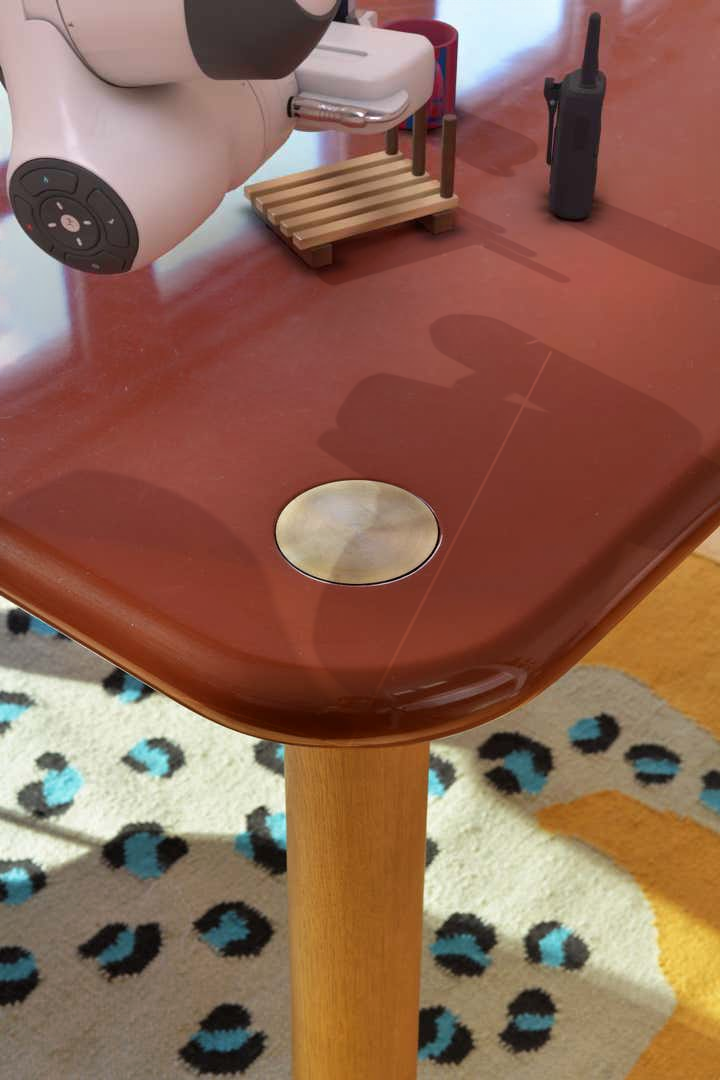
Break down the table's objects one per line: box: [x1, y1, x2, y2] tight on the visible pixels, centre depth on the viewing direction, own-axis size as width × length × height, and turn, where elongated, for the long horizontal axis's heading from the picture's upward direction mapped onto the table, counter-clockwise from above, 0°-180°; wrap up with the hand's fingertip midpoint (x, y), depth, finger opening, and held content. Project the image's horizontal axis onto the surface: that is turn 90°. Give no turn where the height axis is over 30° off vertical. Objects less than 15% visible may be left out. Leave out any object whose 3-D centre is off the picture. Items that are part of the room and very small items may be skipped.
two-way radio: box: [543, 11, 607, 220], centre depth 98 cm, size 6×4×15 cm
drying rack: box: [243, 102, 460, 270], centre depth 98 cm, size 13×10×8 cm
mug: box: [378, 17, 459, 131], centre depth 111 cm, size 7×10×7 cm
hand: (315, 14), depth 87 cm, fingers closed on beverage can, 5 cm apart
